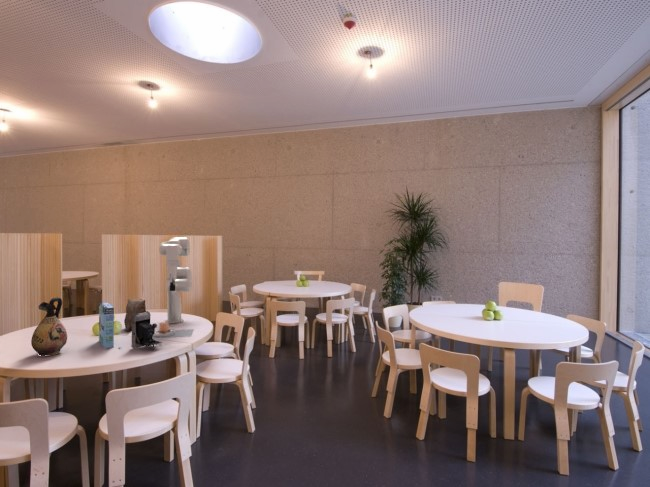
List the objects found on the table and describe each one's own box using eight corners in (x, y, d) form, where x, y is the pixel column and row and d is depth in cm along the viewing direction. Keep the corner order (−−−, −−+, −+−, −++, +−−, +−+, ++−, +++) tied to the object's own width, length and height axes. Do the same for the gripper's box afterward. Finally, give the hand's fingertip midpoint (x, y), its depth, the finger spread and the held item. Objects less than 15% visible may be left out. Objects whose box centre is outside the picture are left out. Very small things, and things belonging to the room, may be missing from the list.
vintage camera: (146, 353, 198) (147, 317, 198) (130, 348, 206) (131, 313, 206) (162, 349, 206) (163, 314, 206) (146, 344, 214) (147, 310, 214)
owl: (124, 328, 251) (123, 299, 250) (144, 325, 258) (144, 297, 257) (126, 332, 240) (126, 301, 240) (147, 329, 248) (147, 300, 247)
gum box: (98, 341, 220) (98, 303, 219) (108, 339, 223) (108, 302, 223) (104, 348, 205) (103, 308, 204) (114, 347, 208) (114, 307, 208)
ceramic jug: (49, 359, 187) (48, 301, 186) (23, 357, 190) (23, 300, 189) (77, 349, 204) (76, 296, 203) (53, 347, 206) (52, 295, 206)
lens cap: (160, 333, 233) (160, 322, 232) (169, 332, 234) (169, 321, 234) (158, 336, 226) (158, 324, 226) (167, 335, 227) (167, 324, 227)
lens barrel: (155, 332, 235) (155, 329, 235) (176, 331, 238) (176, 328, 238) (150, 337, 222) (150, 334, 222) (173, 336, 225) (173, 333, 225)
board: (155, 333, 237) (155, 331, 237) (194, 331, 243) (194, 329, 243) (148, 341, 220) (148, 338, 219) (191, 338, 225) (191, 336, 225)
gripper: (168, 262, 249) (168, 289, 249) (164, 264, 234) (164, 292, 235) (180, 262, 250) (180, 289, 251) (176, 264, 236) (176, 292, 236)
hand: (172, 290), depth 243 cm, fingers closed
